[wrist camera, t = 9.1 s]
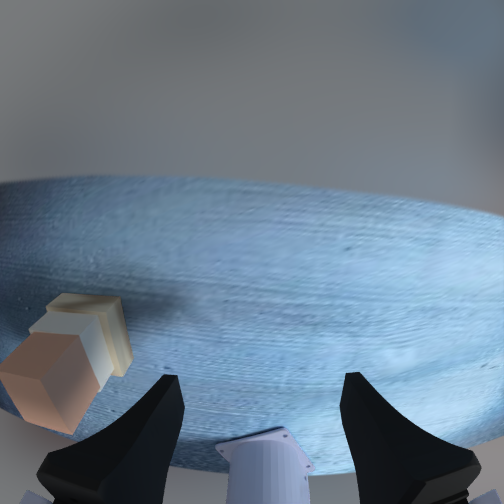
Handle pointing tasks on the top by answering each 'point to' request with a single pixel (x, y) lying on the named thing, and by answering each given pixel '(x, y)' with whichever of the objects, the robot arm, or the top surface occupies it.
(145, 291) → the top surface
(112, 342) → the tower base slab
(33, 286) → the top surface
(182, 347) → the top surface
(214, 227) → the top surface
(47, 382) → the terracotta block
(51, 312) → the tower top slab
